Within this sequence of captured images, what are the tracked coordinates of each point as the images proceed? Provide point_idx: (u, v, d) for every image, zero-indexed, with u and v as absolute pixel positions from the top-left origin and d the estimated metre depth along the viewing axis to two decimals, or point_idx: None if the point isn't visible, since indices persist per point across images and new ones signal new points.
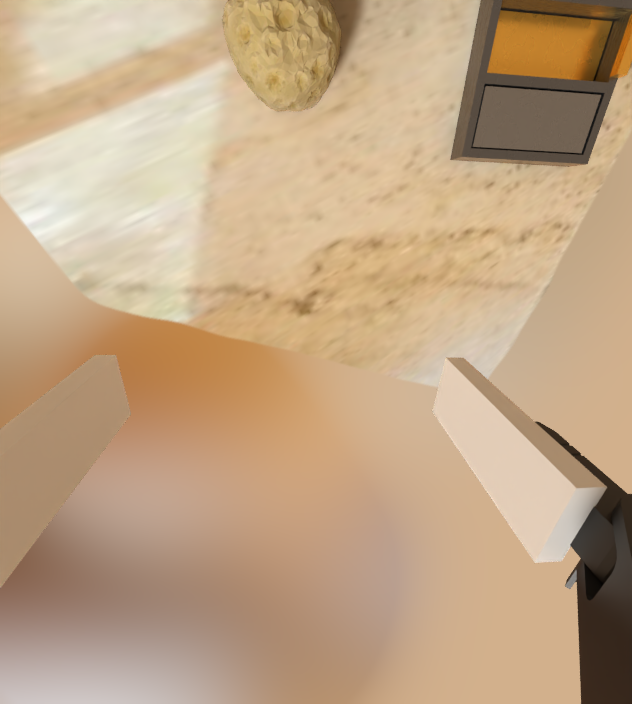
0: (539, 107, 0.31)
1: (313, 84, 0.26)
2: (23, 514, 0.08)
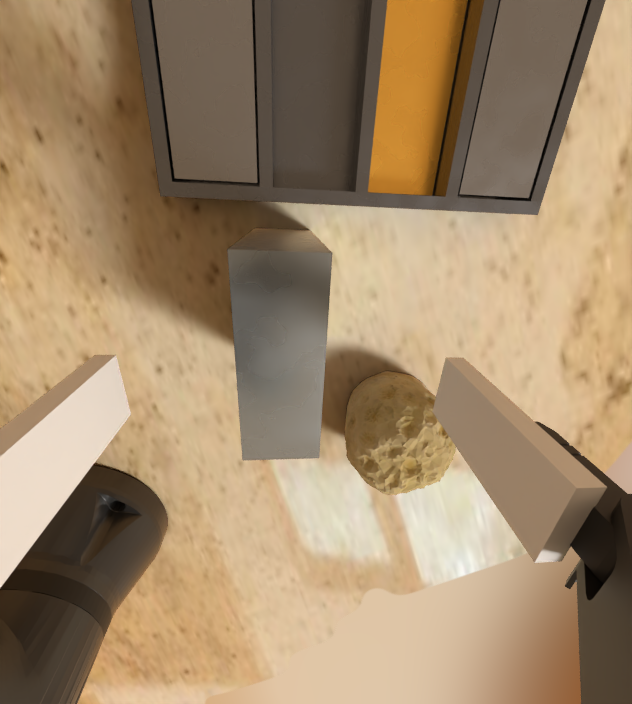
0: (505, 80, 0.18)
1: None
2: (23, 514, 0.08)
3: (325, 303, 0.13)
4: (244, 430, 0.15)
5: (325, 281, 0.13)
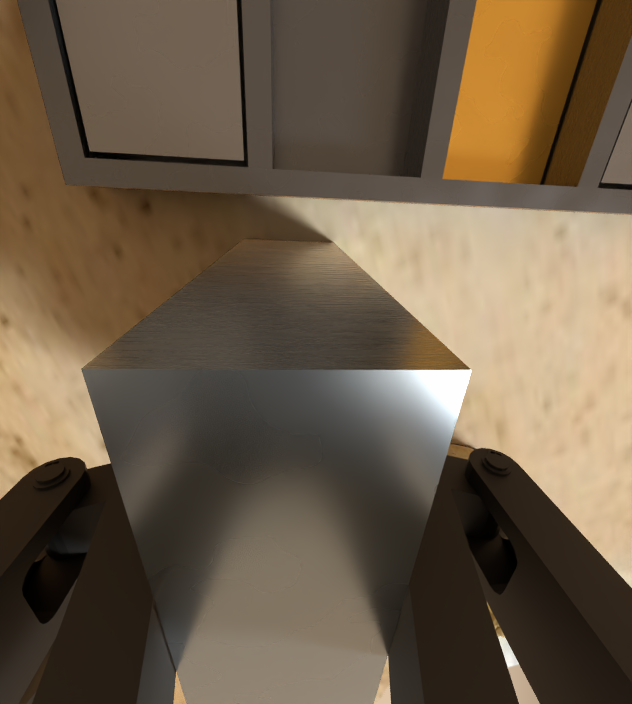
0: None
1: None
2: None
3: (423, 501, 0.04)
4: None
5: (432, 449, 0.04)
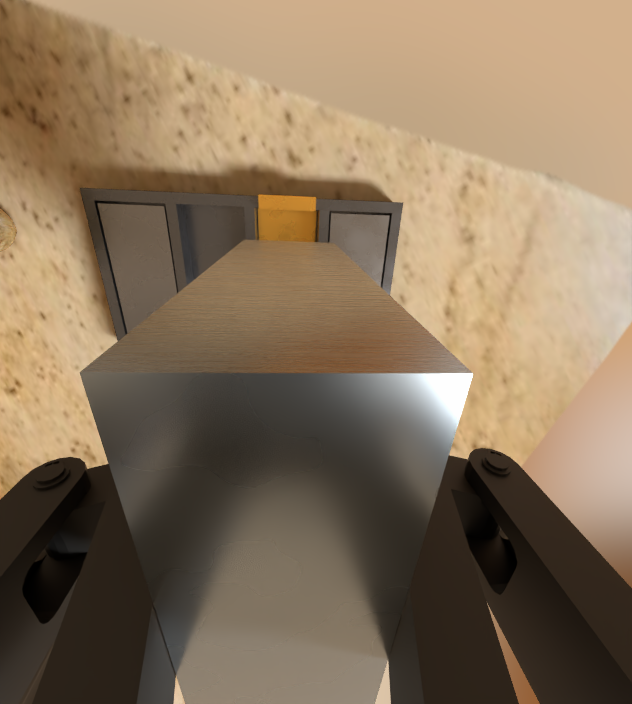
0: None
1: None
2: None
3: (424, 505, 0.04)
4: None
5: (433, 452, 0.04)
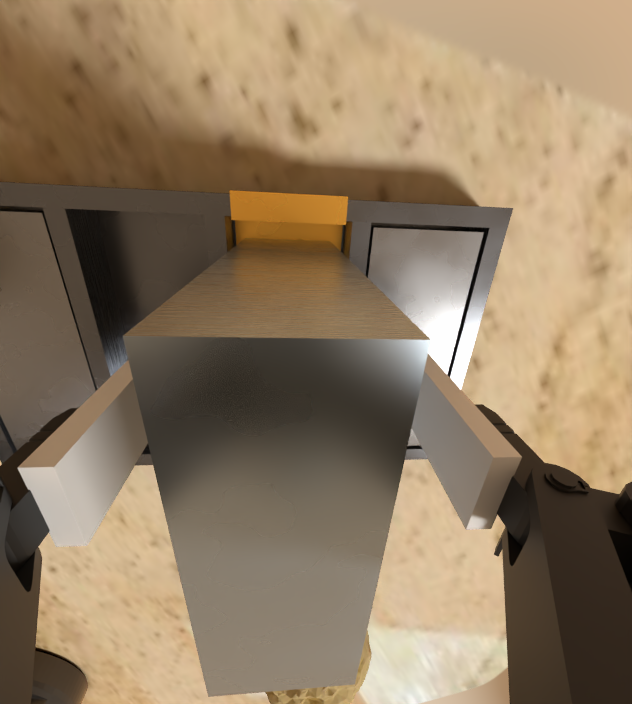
0: None
1: None
2: (102, 481, 0.09)
3: (397, 454, 0.05)
4: (208, 661, 0.08)
5: (403, 407, 0.05)
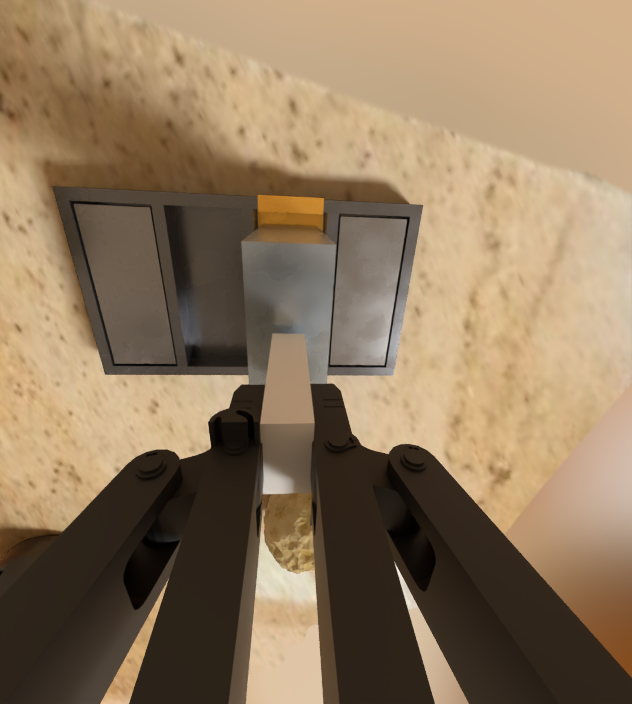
0: (351, 299, 0.25)
1: None
2: None
3: (329, 291, 0.14)
4: None
5: (329, 271, 0.14)
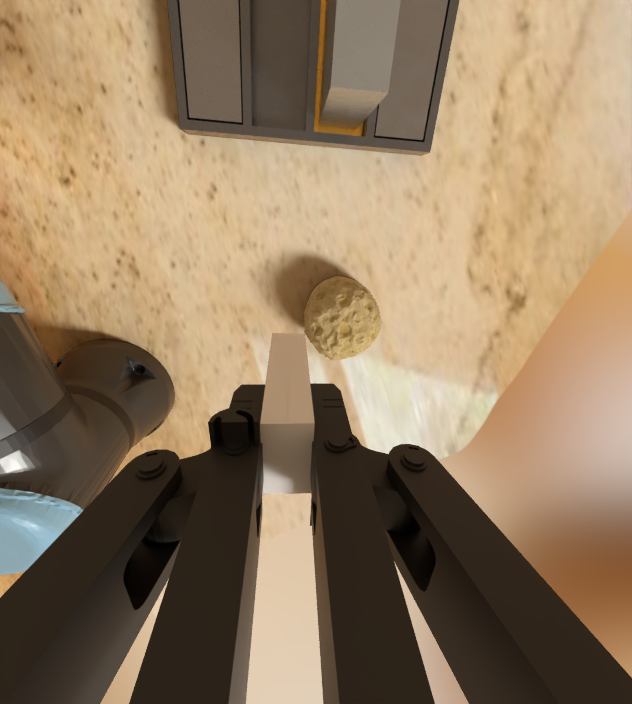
0: (399, 58, 0.29)
1: (373, 306, 0.36)
2: None
3: None
4: (336, 49, 0.20)
5: None
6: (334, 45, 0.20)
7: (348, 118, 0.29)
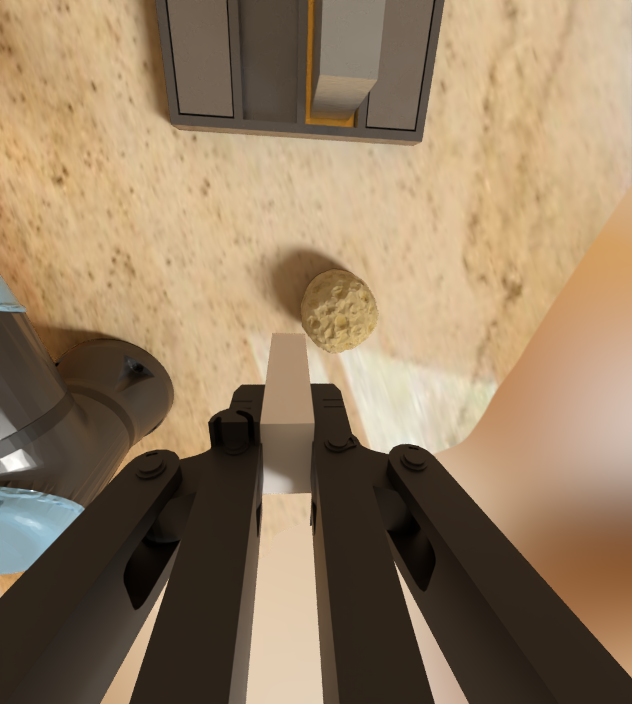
0: (388, 48, 0.29)
1: (370, 298, 0.36)
2: None
3: None
4: (324, 37, 0.20)
5: None
6: (322, 33, 0.20)
7: (339, 109, 0.29)
